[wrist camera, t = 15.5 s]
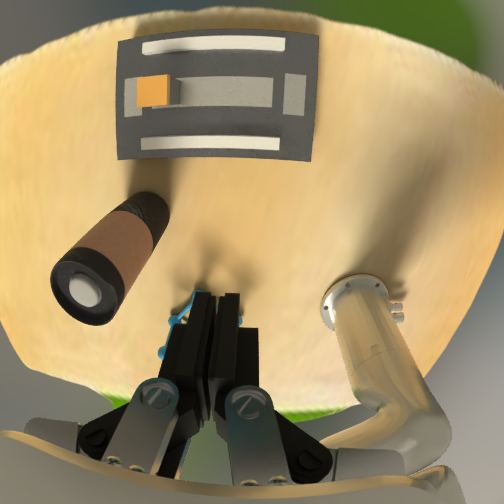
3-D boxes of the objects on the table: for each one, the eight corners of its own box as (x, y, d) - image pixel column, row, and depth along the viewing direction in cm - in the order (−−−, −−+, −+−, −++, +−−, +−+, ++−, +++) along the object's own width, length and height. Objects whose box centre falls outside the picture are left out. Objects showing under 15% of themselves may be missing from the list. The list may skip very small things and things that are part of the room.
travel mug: (115, 216, 40) (41, 293, 22) (141, 178, 37) (61, 242, 20) (153, 246, 42) (99, 338, 25) (181, 211, 40) (130, 298, 22)
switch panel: (312, 42, 28) (321, 32, 23) (305, 156, 36) (313, 164, 31) (130, 46, 28) (113, 39, 23) (129, 154, 35) (112, 162, 31)
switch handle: (180, 79, 27) (167, 74, 22) (180, 105, 29) (166, 104, 24) (154, 81, 27) (137, 77, 22) (154, 107, 29) (136, 107, 24)
